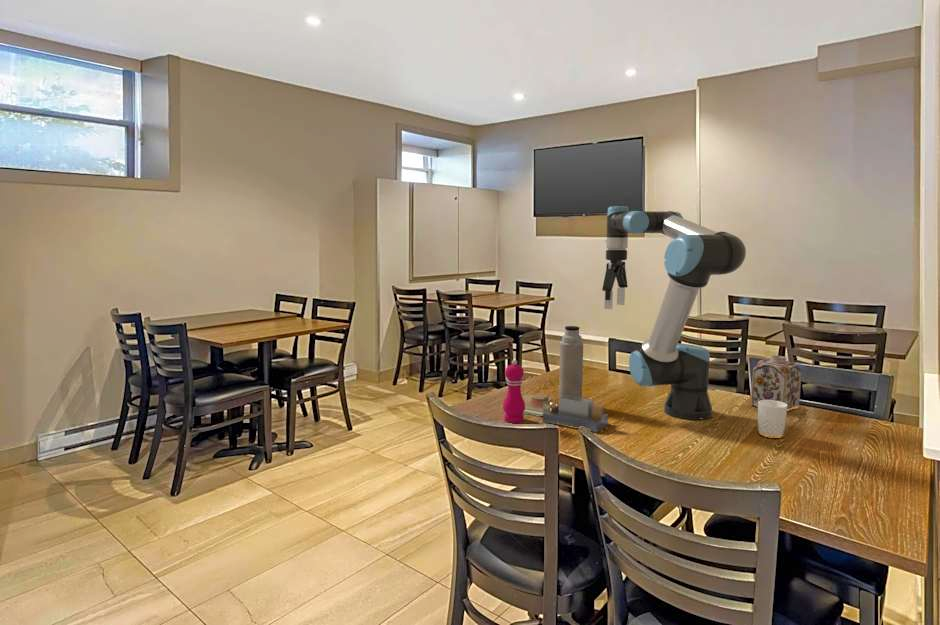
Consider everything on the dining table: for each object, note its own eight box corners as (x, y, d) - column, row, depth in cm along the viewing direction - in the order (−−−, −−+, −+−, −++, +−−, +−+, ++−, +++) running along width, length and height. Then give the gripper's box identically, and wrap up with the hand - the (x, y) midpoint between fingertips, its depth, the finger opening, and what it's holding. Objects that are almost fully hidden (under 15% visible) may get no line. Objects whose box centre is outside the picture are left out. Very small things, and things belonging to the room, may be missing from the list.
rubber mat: (555, 408, 204) (556, 405, 204) (542, 417, 195) (542, 414, 195) (527, 403, 210) (527, 400, 210) (512, 411, 201) (512, 408, 201)
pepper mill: (499, 417, 194) (499, 358, 191) (519, 415, 197) (519, 356, 194) (508, 424, 188) (508, 363, 185) (528, 422, 190) (529, 361, 187)
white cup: (751, 435, 178) (754, 403, 177) (761, 429, 184) (763, 398, 182) (779, 442, 173) (782, 409, 171) (788, 435, 178) (791, 403, 177)
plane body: (607, 423, 189) (608, 399, 188) (596, 432, 180) (597, 407, 179) (555, 413, 198) (556, 390, 197) (543, 422, 190) (543, 398, 189)
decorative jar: (782, 414, 198) (787, 362, 195) (749, 406, 207) (752, 355, 204) (800, 408, 205) (804, 357, 202) (766, 400, 214) (770, 351, 211)
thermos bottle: (558, 401, 213) (559, 324, 208) (580, 401, 212) (582, 324, 208) (559, 407, 205) (561, 328, 201) (582, 408, 204) (584, 328, 200)
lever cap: (552, 406, 203) (552, 395, 202) (543, 412, 197) (543, 400, 196) (526, 402, 208) (526, 391, 207) (516, 407, 202) (516, 396, 202)
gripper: (617, 247, 228) (615, 302, 231) (594, 250, 207) (592, 310, 211) (637, 248, 224) (634, 303, 227) (615, 250, 203) (613, 311, 207)
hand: (614, 306), depth 219 cm, fingers open, 13 cm apart
